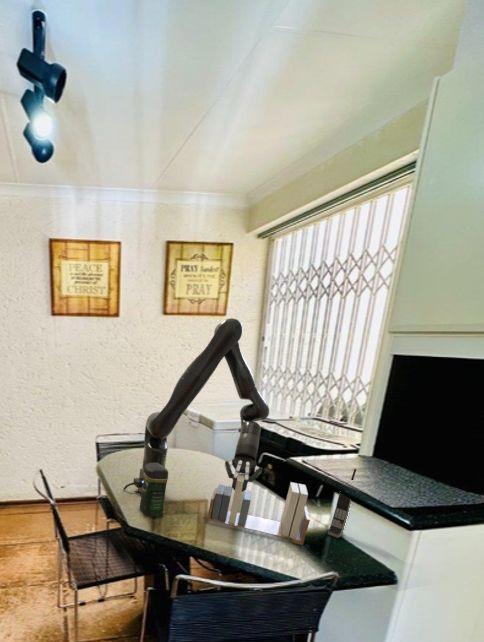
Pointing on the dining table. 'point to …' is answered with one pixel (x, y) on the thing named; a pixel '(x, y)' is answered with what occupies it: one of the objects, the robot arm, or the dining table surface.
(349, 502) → the vintage mobile phone
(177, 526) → the dining table surface
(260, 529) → the book shelf
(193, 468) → the dining table surface
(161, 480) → the coffee jar
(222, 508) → the grey books
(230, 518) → the white book
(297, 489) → the white books
